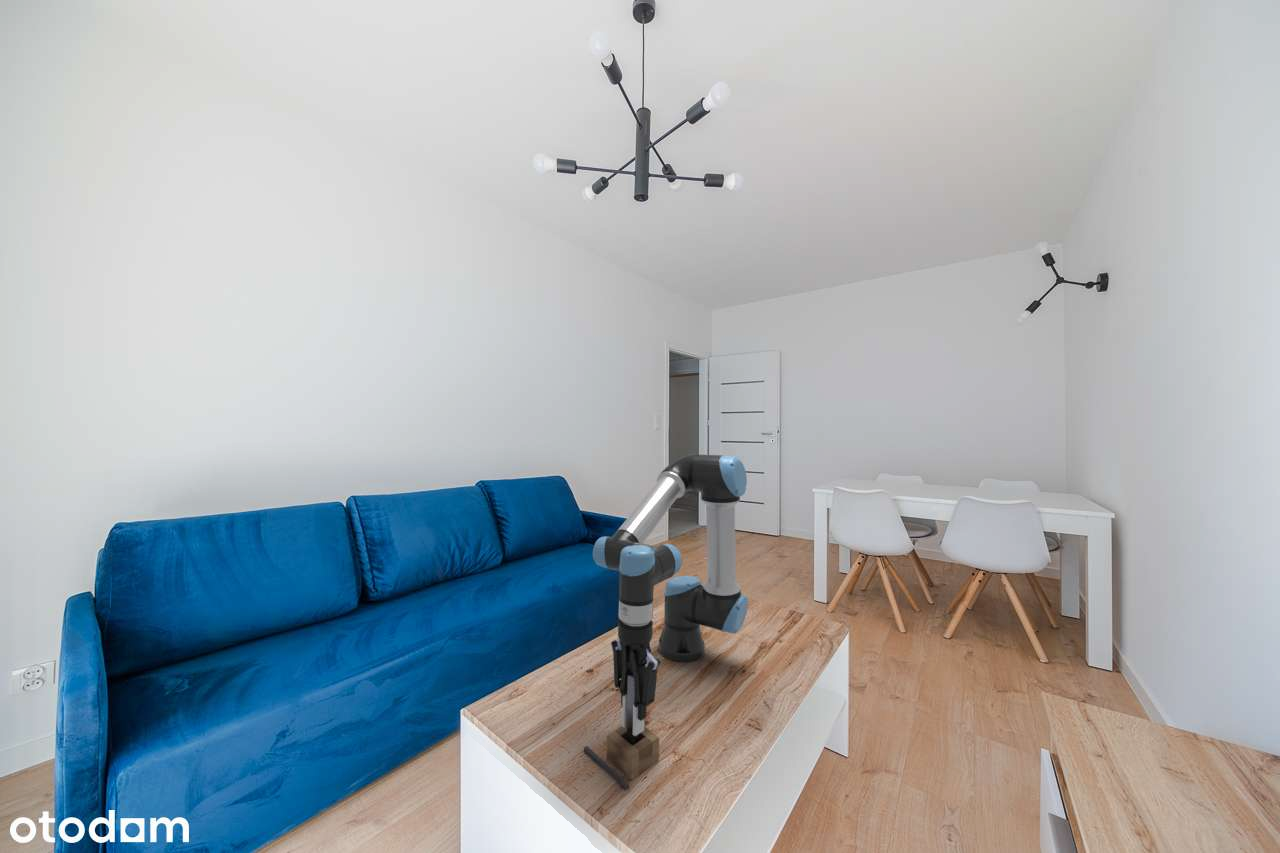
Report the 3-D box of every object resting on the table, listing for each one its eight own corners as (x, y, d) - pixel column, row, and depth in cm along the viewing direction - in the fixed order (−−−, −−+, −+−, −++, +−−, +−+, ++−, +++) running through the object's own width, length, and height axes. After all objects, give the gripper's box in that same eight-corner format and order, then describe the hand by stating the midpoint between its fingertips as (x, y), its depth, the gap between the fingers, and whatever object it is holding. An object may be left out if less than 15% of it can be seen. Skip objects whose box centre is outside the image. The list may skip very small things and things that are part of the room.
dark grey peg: (623, 739, 94) (625, 674, 94) (632, 733, 96) (634, 669, 96) (632, 746, 92) (633, 680, 92) (641, 740, 94) (643, 675, 94)
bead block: (606, 758, 94) (607, 735, 94) (633, 740, 99) (634, 718, 99) (631, 780, 88) (632, 755, 88) (658, 760, 94) (659, 737, 94)
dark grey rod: (583, 751, 96) (583, 747, 96) (586, 749, 96) (586, 745, 96) (626, 790, 86) (626, 786, 86) (628, 787, 86) (629, 783, 86)
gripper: (599, 612, 97) (596, 717, 97) (649, 637, 86) (646, 757, 85) (624, 603, 102) (621, 703, 102) (674, 626, 91) (671, 739, 91)
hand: (632, 728), depth 94 cm, fingers closed on dark grey peg, 3 cm apart
